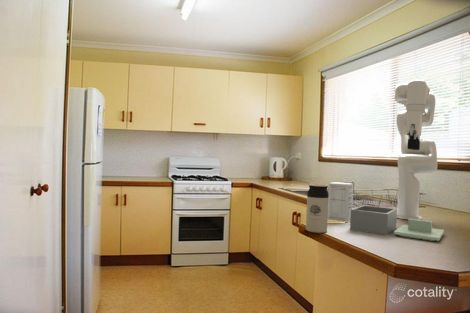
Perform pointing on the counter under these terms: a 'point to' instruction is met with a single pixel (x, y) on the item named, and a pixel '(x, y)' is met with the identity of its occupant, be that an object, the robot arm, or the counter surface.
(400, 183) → the robot arm
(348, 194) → the supplement box
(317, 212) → the travel mug
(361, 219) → the tub
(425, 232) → the lid
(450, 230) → the counter surface
